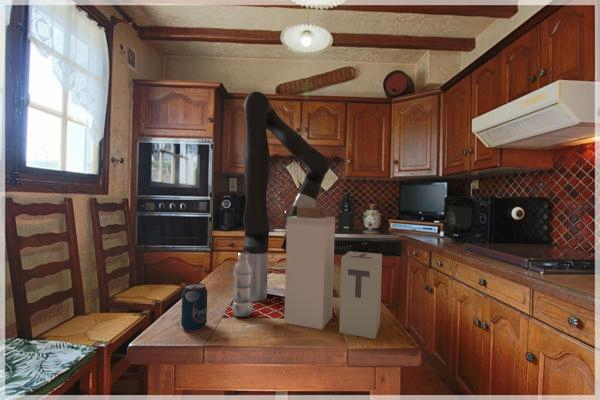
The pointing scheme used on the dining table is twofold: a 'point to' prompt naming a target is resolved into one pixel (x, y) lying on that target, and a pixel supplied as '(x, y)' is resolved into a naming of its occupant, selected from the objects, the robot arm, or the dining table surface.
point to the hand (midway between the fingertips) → (285, 250)
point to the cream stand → (309, 271)
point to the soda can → (194, 307)
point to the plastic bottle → (242, 286)
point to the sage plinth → (360, 294)
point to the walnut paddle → (312, 212)
